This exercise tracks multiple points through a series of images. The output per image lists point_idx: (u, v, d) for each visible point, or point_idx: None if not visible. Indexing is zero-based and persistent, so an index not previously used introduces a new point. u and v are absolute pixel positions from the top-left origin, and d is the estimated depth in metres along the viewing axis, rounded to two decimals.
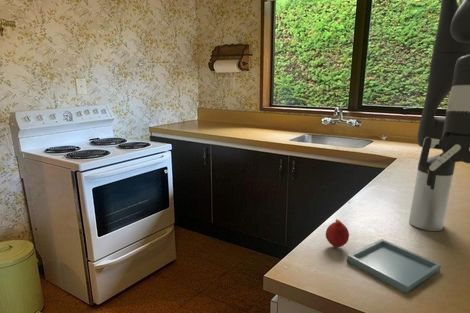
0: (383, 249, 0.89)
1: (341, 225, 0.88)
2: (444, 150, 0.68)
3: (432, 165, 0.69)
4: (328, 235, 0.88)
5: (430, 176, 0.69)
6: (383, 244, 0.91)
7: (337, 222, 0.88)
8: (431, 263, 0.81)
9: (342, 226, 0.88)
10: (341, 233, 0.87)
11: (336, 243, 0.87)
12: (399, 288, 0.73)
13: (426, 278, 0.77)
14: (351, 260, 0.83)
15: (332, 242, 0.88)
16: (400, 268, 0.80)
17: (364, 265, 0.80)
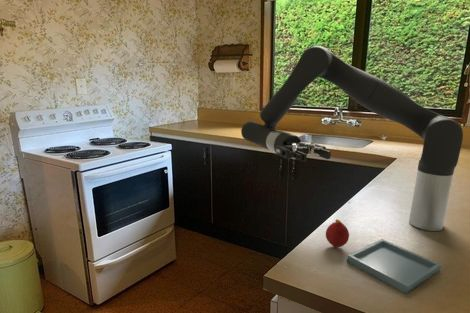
0: (383, 249, 0.89)
1: (341, 225, 0.88)
2: None
3: None
4: (328, 235, 0.88)
5: None
6: (383, 244, 0.91)
7: (337, 222, 0.88)
8: (431, 263, 0.81)
9: (342, 226, 0.88)
10: (341, 233, 0.87)
11: (336, 243, 0.87)
12: (399, 288, 0.73)
13: (426, 278, 0.77)
14: (351, 260, 0.83)
15: (332, 242, 0.88)
16: (400, 268, 0.80)
17: (364, 265, 0.80)
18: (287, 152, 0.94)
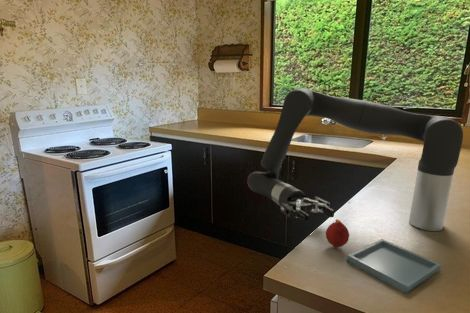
0: (383, 249, 0.89)
1: (341, 225, 0.88)
2: None
3: None
4: (328, 235, 0.88)
5: None
6: (383, 244, 0.91)
7: (337, 222, 0.88)
8: (431, 263, 0.81)
9: (342, 226, 0.88)
10: (341, 233, 0.87)
11: (336, 243, 0.87)
12: (399, 288, 0.73)
13: (426, 278, 0.77)
14: (351, 260, 0.83)
15: (332, 242, 0.88)
16: (400, 268, 0.80)
17: (364, 265, 0.80)
18: (291, 212, 0.96)
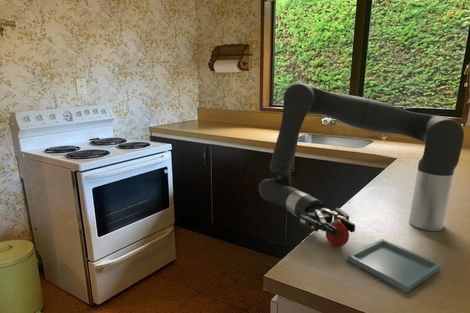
0: (383, 249, 0.89)
1: (341, 225, 0.88)
2: None
3: None
4: (328, 235, 0.88)
5: None
6: (383, 244, 0.91)
7: (337, 222, 0.88)
8: (431, 263, 0.81)
9: (342, 226, 0.88)
10: (341, 233, 0.87)
11: (336, 243, 0.87)
12: (399, 288, 0.73)
13: (426, 278, 0.77)
14: (351, 260, 0.83)
15: (332, 242, 0.88)
16: (400, 268, 0.80)
17: (364, 265, 0.80)
18: (317, 224, 0.88)
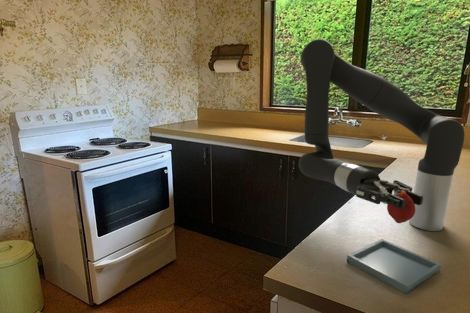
0: (383, 249, 0.89)
1: (407, 197, 0.77)
2: None
3: None
4: (392, 208, 0.77)
5: None
6: (383, 244, 0.91)
7: (402, 193, 0.77)
8: (431, 263, 0.81)
9: (408, 198, 0.77)
10: (408, 205, 0.76)
11: (401, 217, 0.76)
12: (399, 288, 0.73)
13: (426, 278, 0.77)
14: (351, 260, 0.83)
15: (396, 216, 0.77)
16: (400, 268, 0.80)
17: (364, 265, 0.80)
18: (379, 196, 0.77)
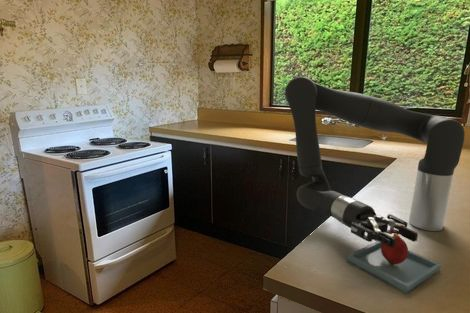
0: None
1: (400, 240, 0.80)
2: None
3: None
4: (385, 251, 0.80)
5: None
6: None
7: (395, 236, 0.80)
8: (431, 263, 0.81)
9: (401, 241, 0.79)
10: (401, 249, 0.78)
11: (395, 260, 0.79)
12: (399, 288, 0.73)
13: (426, 278, 0.77)
14: (351, 260, 0.83)
15: (390, 259, 0.80)
16: (400, 268, 0.80)
17: (364, 265, 0.80)
18: (370, 234, 0.79)
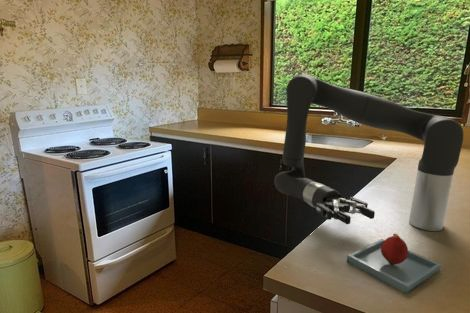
0: None
1: (400, 240, 0.80)
2: None
3: None
4: (385, 251, 0.80)
5: None
6: None
7: (395, 237, 0.80)
8: (431, 263, 0.81)
9: (401, 241, 0.79)
10: (400, 249, 0.78)
11: (395, 260, 0.79)
12: (399, 288, 0.73)
13: (426, 278, 0.77)
14: (351, 260, 0.83)
15: (390, 259, 0.80)
16: (400, 268, 0.80)
17: (364, 265, 0.80)
18: (329, 213, 0.91)
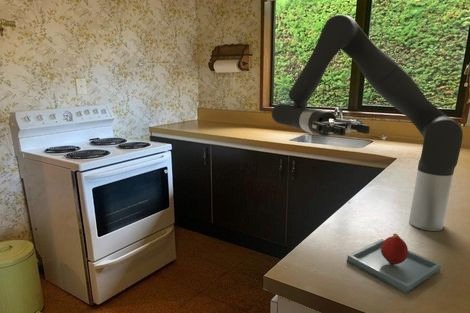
0: None
1: (400, 240, 0.80)
2: None
3: None
4: (385, 251, 0.80)
5: None
6: None
7: (395, 237, 0.80)
8: (431, 263, 0.81)
9: (401, 241, 0.79)
10: (400, 249, 0.78)
11: (394, 260, 0.79)
12: (399, 288, 0.73)
13: (426, 278, 0.77)
14: (351, 260, 0.83)
15: (390, 259, 0.80)
16: (400, 268, 0.80)
17: (364, 265, 0.80)
18: (325, 126, 0.92)
